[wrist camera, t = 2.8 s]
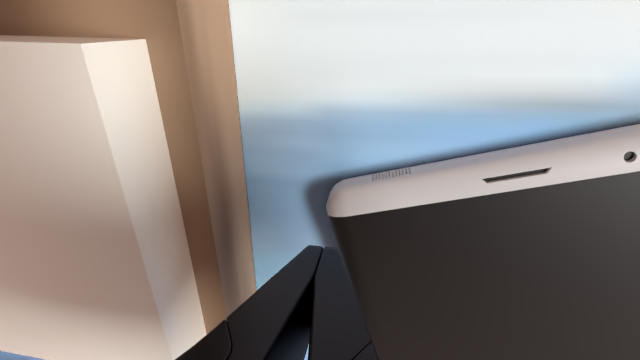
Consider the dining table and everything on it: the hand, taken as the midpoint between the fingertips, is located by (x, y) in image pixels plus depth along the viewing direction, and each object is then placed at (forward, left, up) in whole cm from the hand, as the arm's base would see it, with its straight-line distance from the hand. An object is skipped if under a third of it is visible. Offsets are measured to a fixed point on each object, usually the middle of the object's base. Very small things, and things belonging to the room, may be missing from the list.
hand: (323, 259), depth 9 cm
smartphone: (-1, -14, -5) cm, 15 cm away
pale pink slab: (-6, +6, -1) cm, 9 cm away
